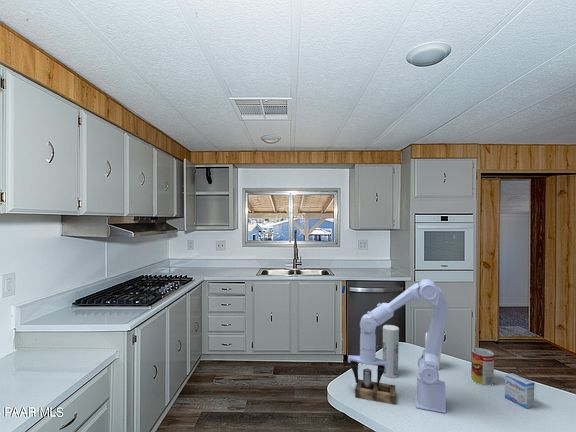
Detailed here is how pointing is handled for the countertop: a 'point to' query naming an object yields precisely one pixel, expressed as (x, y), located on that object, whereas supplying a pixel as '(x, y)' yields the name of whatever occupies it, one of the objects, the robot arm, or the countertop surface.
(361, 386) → the hole block
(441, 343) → the drinking glass
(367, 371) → the peg
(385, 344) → the spray can
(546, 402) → the countertop surface
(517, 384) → the medicine box
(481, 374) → the canned food
